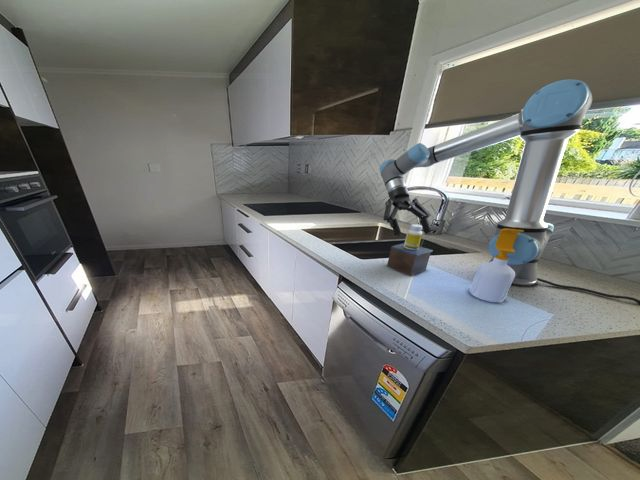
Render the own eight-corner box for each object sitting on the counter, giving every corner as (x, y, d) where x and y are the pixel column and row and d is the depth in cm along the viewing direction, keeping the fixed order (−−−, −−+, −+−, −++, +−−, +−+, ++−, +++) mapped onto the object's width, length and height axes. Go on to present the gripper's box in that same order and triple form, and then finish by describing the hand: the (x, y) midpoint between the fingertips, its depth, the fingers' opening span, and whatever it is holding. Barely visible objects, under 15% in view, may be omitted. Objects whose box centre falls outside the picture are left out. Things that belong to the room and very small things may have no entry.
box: (425, 270, 103) (431, 251, 100) (410, 275, 99) (415, 256, 96) (402, 261, 112) (406, 243, 109) (386, 266, 108) (391, 247, 104)
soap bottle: (470, 298, 83) (497, 229, 74) (467, 286, 90) (491, 222, 81) (506, 306, 79) (539, 234, 69) (500, 293, 86) (529, 226, 76)
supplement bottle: (420, 250, 99) (426, 227, 95) (406, 249, 100) (411, 227, 96) (415, 246, 104) (421, 224, 100) (401, 245, 105) (406, 223, 101)
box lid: (432, 251, 100) (432, 250, 99) (416, 256, 95) (417, 255, 95) (406, 243, 109) (406, 242, 108) (391, 247, 104) (391, 246, 104)
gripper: (417, 195, 113) (433, 236, 105) (366, 197, 110) (380, 238, 102) (429, 185, 106) (447, 227, 98) (375, 186, 103) (390, 230, 95)
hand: (413, 233), depth 100 cm, fingers open, 13 cm apart
